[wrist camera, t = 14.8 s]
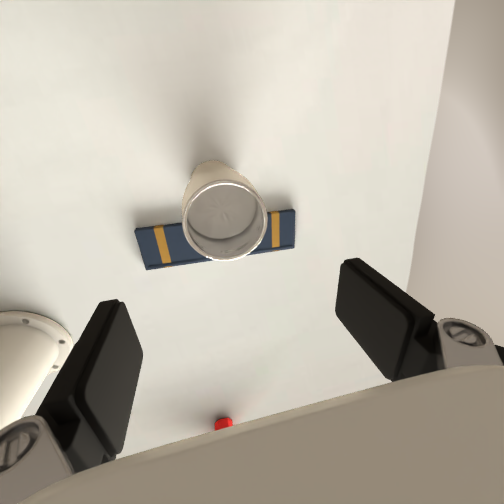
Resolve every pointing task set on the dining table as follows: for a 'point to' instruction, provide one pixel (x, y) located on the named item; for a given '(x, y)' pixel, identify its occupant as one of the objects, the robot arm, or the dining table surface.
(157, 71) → the dining table surface
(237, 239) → the beer glass
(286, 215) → the blue striped flat box
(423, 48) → the dining table surface
